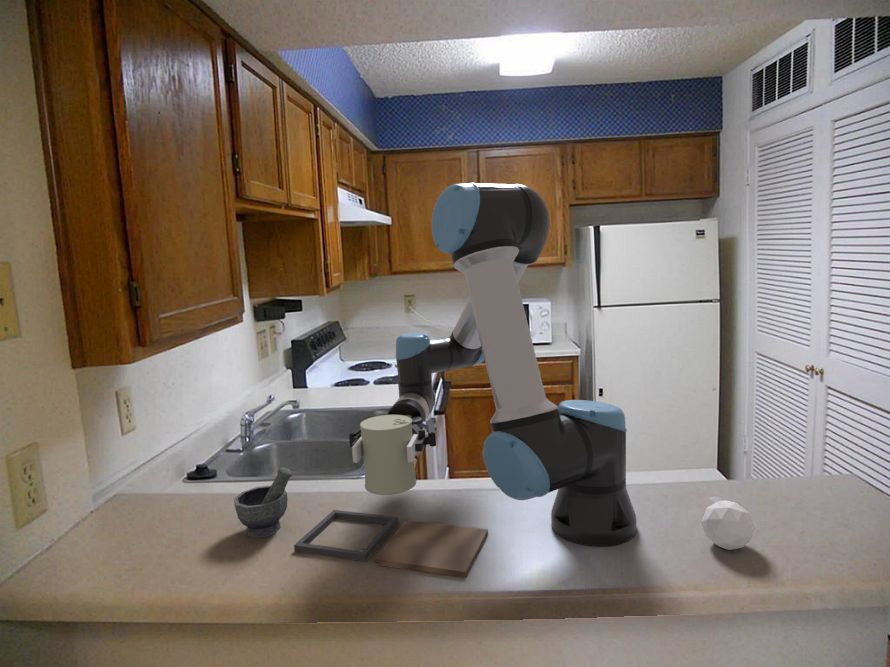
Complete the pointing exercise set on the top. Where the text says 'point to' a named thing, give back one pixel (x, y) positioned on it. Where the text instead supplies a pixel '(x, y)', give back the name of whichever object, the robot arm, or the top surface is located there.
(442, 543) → the walnut board
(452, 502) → the top surface
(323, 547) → the grey picture frame
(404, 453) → the can
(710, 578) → the top surface
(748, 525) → the ball
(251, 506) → the mortar and pestle
